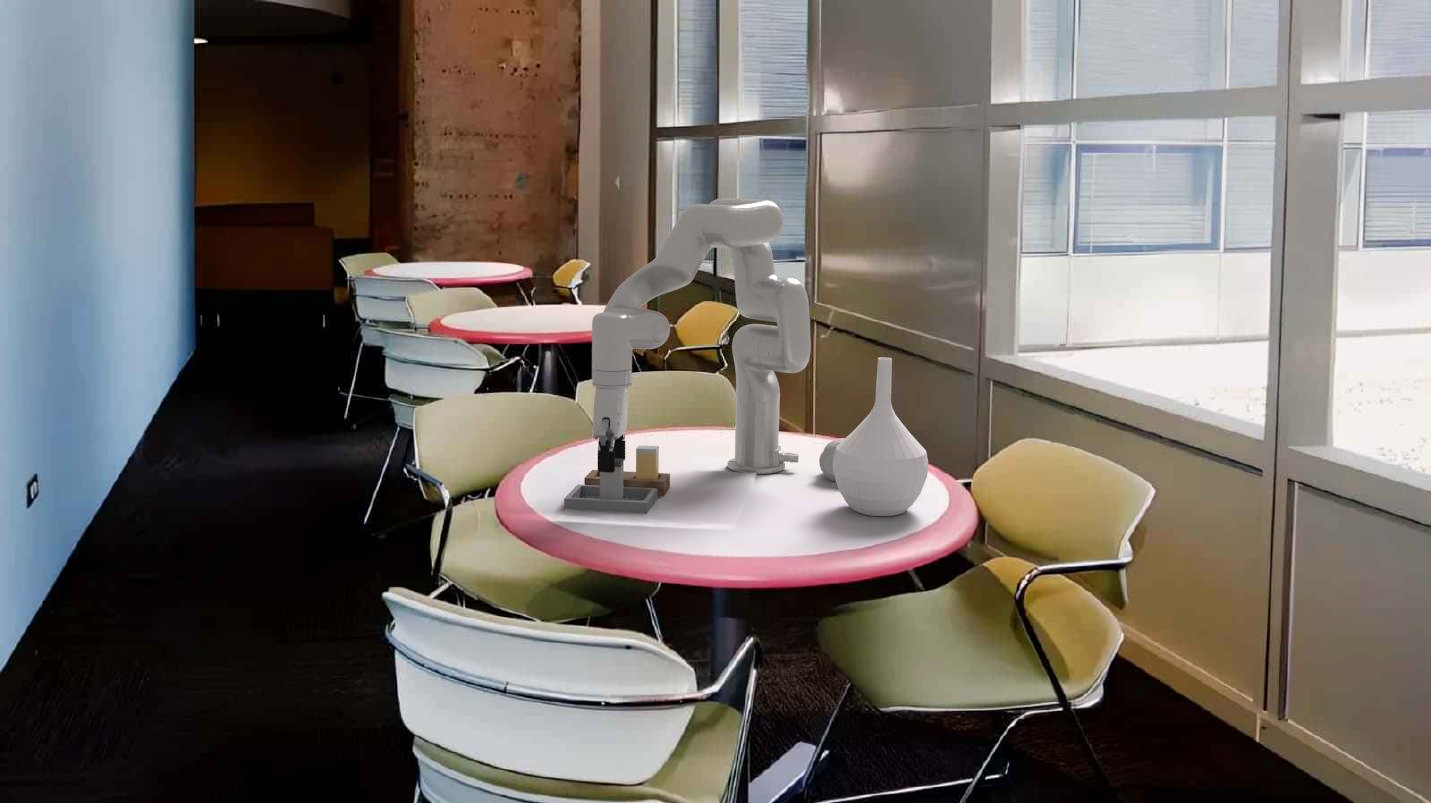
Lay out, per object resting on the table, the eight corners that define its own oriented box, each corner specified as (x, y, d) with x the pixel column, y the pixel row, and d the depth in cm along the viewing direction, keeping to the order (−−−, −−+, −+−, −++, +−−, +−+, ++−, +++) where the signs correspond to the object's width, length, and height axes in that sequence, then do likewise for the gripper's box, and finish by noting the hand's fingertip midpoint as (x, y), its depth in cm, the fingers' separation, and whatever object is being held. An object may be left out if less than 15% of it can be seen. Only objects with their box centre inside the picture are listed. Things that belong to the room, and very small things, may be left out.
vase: (832, 521, 247) (838, 364, 242) (829, 496, 265) (834, 350, 260) (931, 524, 246) (938, 367, 241) (921, 499, 264) (928, 352, 259)
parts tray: (657, 503, 258) (657, 488, 257) (647, 518, 247) (647, 502, 246) (577, 499, 260) (577, 484, 259) (564, 513, 249) (564, 498, 248)
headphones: (812, 483, 273) (907, 502, 270) (818, 447, 272) (914, 466, 268) (823, 463, 291) (912, 481, 288) (829, 429, 289) (919, 447, 286)
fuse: (658, 489, 264) (658, 446, 262) (655, 493, 261) (656, 449, 259) (638, 488, 264) (639, 445, 263) (635, 492, 261) (636, 448, 260)
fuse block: (669, 492, 266) (669, 473, 265) (663, 501, 259) (664, 481, 258) (592, 488, 268) (592, 469, 267) (584, 497, 261) (584, 477, 260)
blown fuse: (623, 503, 254) (623, 458, 253) (620, 508, 251) (620, 462, 250) (603, 503, 255) (603, 457, 253) (599, 507, 252) (599, 461, 250)
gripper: (602, 370, 257) (602, 455, 261) (581, 384, 241) (582, 475, 244) (640, 371, 257) (639, 457, 260) (622, 386, 240) (621, 477, 243)
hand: (611, 466), depth 252 cm, fingers open, 9 cm apart
